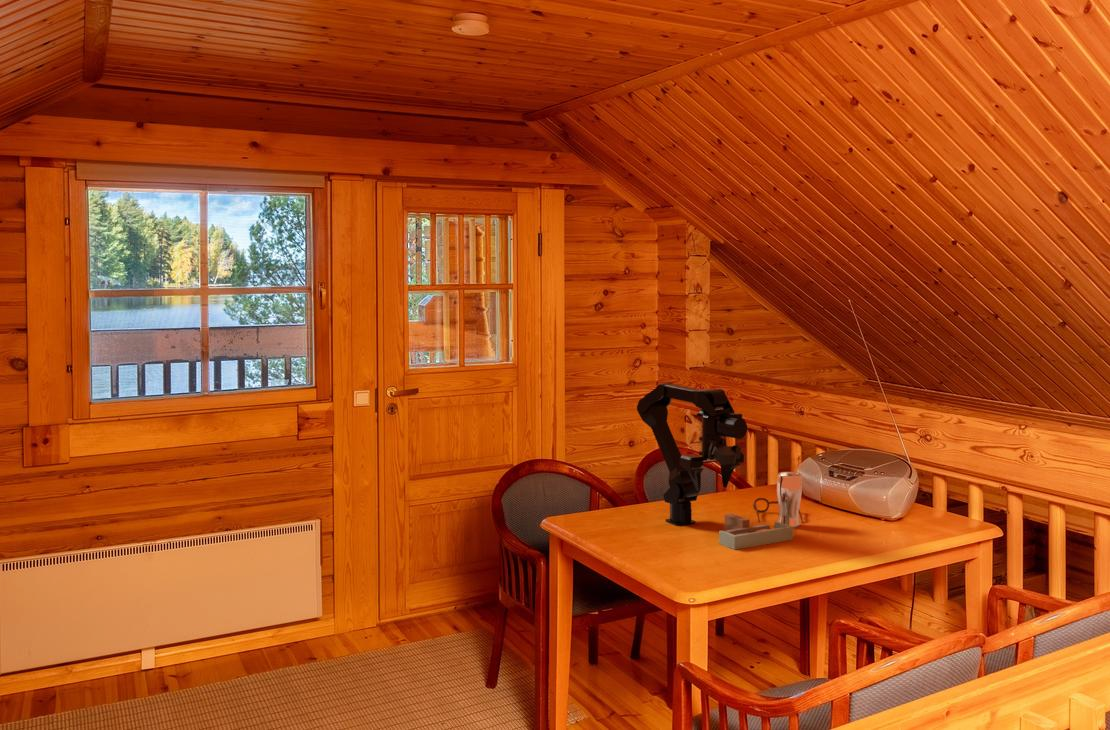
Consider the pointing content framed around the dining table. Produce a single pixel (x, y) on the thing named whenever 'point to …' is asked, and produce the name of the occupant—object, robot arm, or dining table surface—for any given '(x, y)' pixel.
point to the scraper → (740, 524)
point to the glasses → (768, 507)
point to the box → (757, 537)
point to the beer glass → (789, 497)
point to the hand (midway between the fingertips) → (711, 489)
